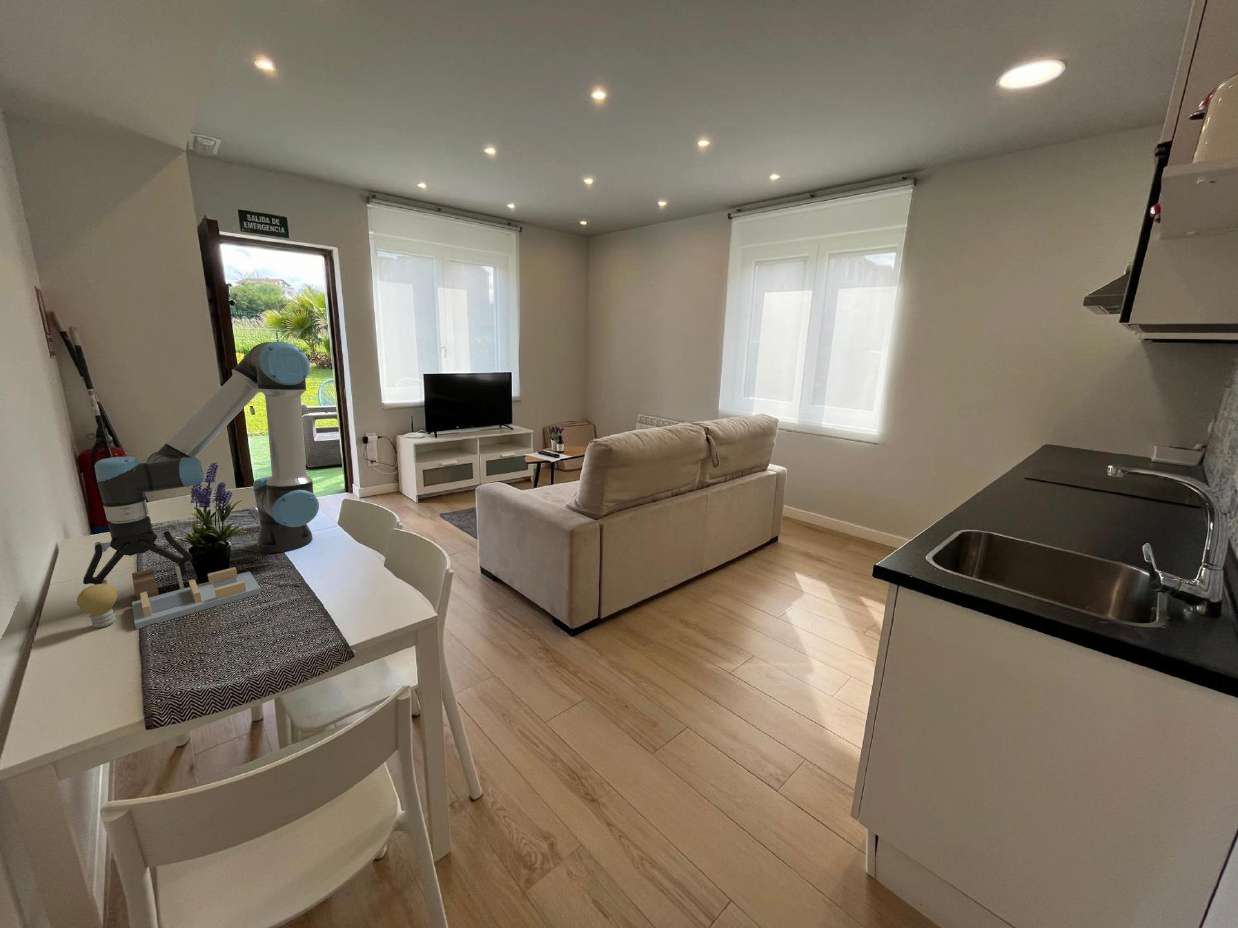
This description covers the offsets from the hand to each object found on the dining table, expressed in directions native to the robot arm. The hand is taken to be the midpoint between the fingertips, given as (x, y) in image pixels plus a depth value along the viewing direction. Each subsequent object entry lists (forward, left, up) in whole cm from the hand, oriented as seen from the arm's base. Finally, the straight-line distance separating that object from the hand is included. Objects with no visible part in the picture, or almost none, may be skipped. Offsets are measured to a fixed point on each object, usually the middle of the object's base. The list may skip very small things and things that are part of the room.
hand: (147, 595), depth 128 cm
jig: (+12, +9, 0) cm, 15 cm away
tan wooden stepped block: (0, 0, 0) cm, 0 cm away
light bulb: (+11, -8, 0) cm, 13 cm away
